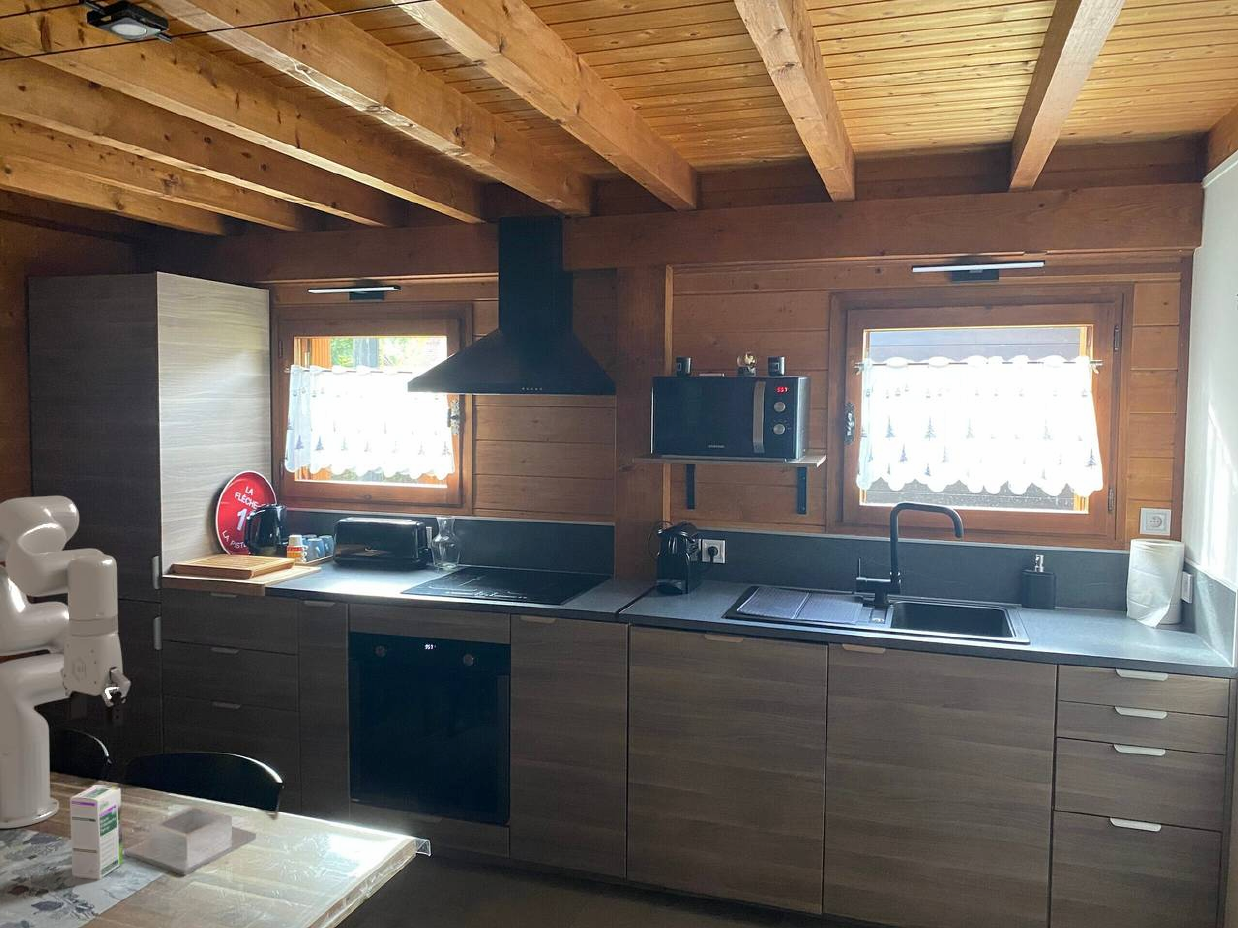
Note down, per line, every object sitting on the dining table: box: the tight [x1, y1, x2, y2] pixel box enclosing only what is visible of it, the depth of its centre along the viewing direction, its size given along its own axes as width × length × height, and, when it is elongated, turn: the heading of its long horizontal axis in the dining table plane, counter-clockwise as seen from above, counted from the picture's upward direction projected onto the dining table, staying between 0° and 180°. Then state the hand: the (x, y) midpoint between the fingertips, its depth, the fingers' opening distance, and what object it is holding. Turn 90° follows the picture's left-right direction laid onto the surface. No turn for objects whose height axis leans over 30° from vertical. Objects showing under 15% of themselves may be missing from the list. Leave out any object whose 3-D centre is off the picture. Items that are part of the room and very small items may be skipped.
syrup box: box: [69, 784, 124, 881], centre depth 166 cm, size 6×6×14 cm
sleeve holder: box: [123, 804, 257, 877], centre depth 176 cm, size 16×16×5 cm
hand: (95, 721), depth 165 cm, fingers open, 9 cm apart
